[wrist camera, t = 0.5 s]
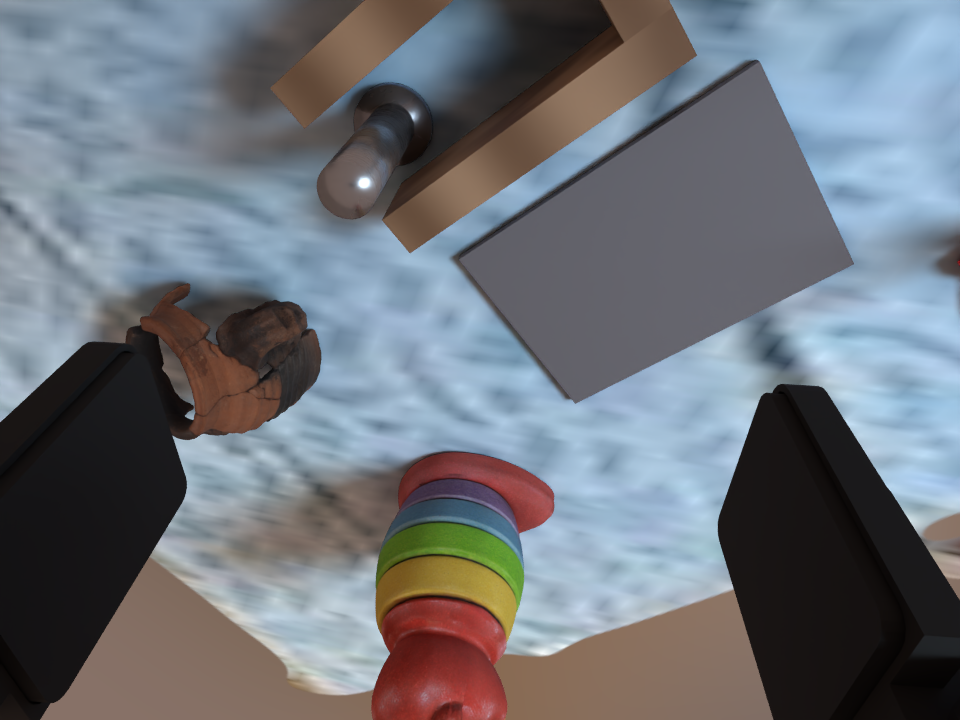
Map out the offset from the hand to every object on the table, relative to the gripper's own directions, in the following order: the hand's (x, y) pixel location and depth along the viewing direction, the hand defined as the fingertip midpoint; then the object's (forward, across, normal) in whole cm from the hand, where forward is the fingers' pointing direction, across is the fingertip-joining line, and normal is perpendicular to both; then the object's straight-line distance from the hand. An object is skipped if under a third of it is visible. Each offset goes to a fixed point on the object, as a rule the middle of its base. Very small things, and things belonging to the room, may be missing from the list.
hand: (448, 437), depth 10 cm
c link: (+25, +1, -2) cm, 25 cm away
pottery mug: (+25, +15, +14) cm, 33 cm away
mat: (+25, -8, +8) cm, 27 cm away
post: (+25, +5, +2) cm, 25 cm away
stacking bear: (+25, +2, +28) cm, 37 cm away
